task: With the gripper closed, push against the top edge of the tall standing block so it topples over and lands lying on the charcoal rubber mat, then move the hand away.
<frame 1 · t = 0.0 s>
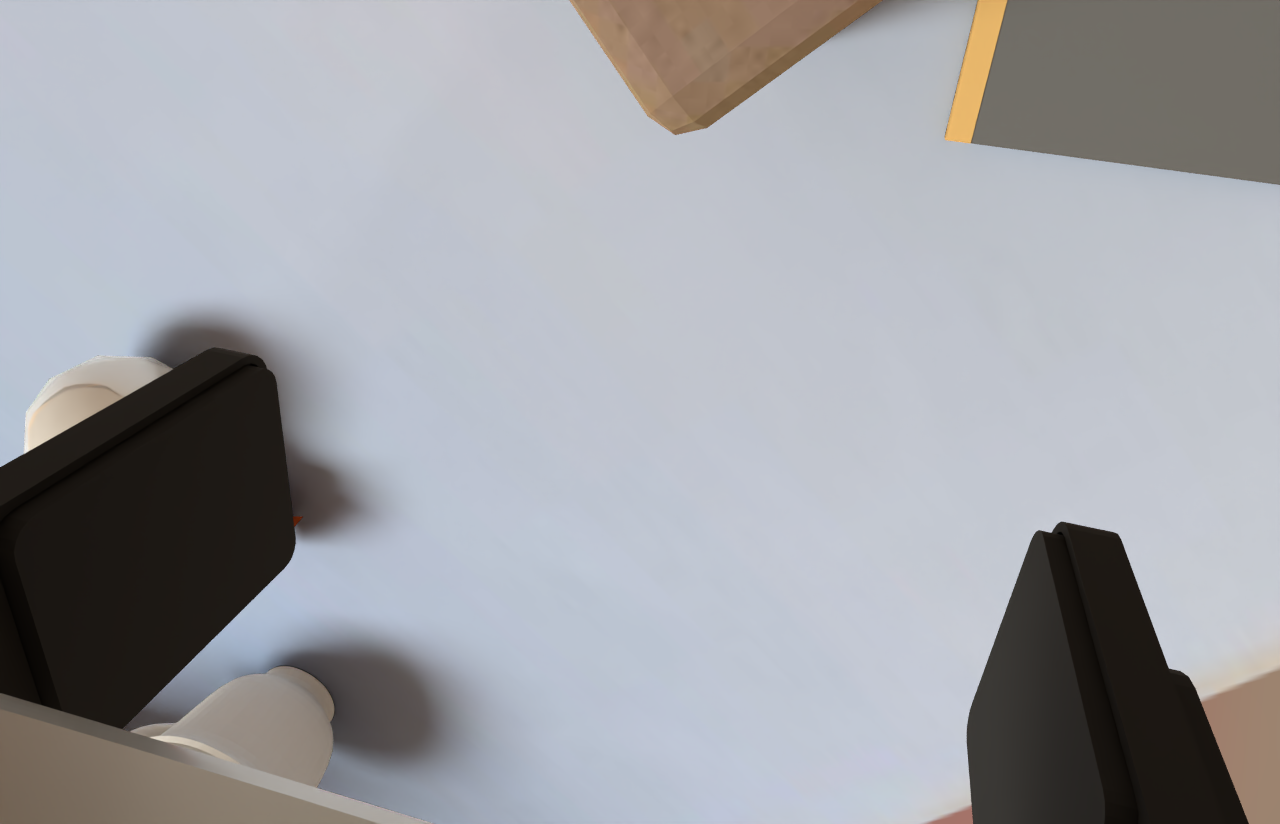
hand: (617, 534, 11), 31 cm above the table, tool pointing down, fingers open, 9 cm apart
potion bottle: (219, 433, 55), on the table
teacup: (283, 689, 65), on the table
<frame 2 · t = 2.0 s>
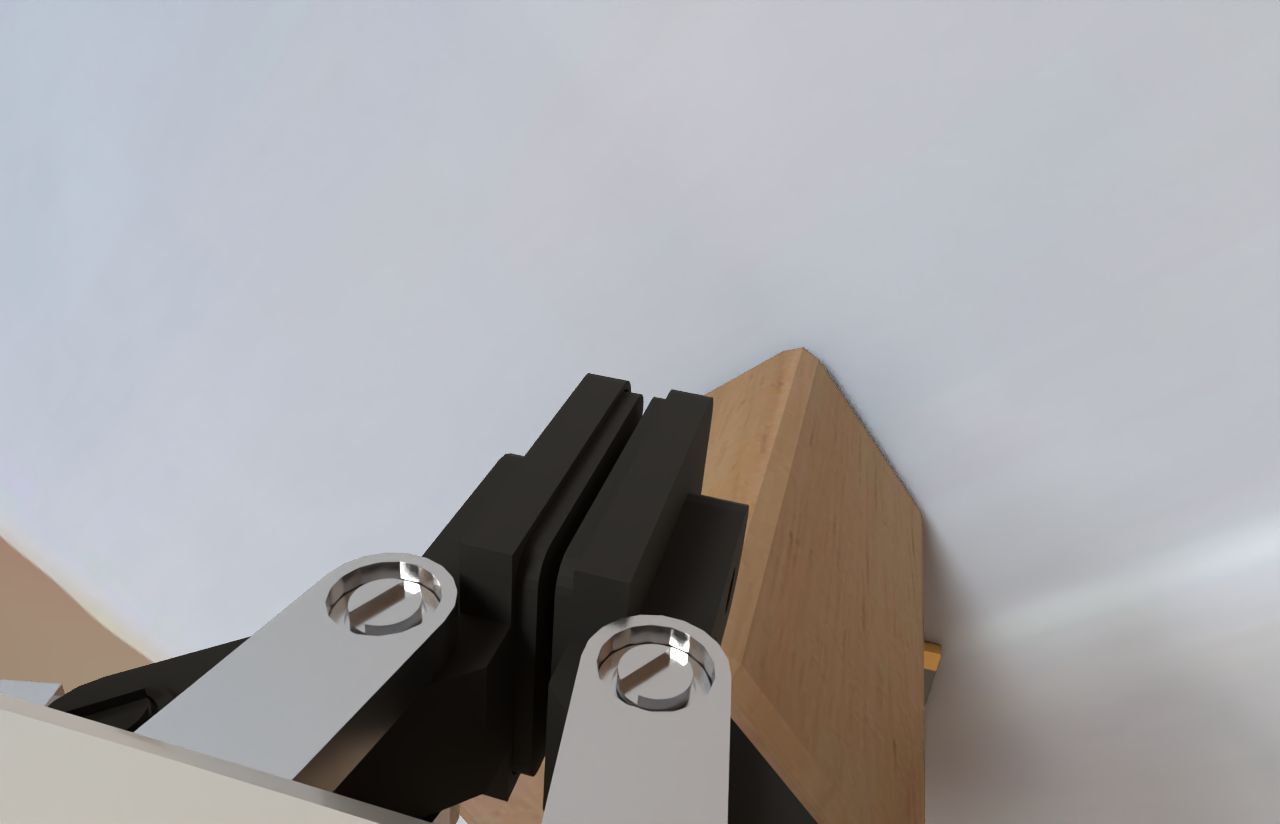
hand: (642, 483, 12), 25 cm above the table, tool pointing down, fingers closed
mat: (727, 717, 47), on the table
block: (772, 472, 40), on the table
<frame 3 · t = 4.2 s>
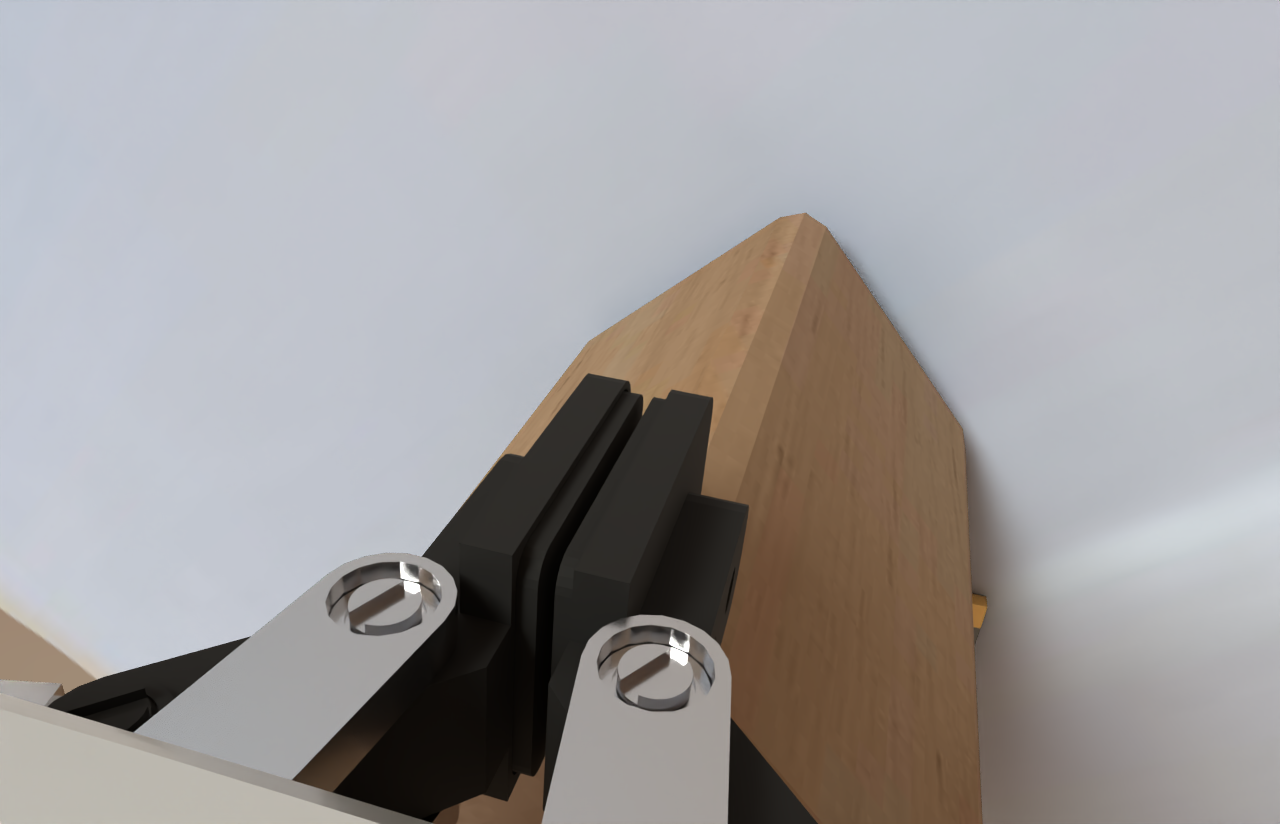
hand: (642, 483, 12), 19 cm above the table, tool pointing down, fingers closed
mat: (721, 694, 38), on the table
block: (770, 385, 31), on the table, touching gripper
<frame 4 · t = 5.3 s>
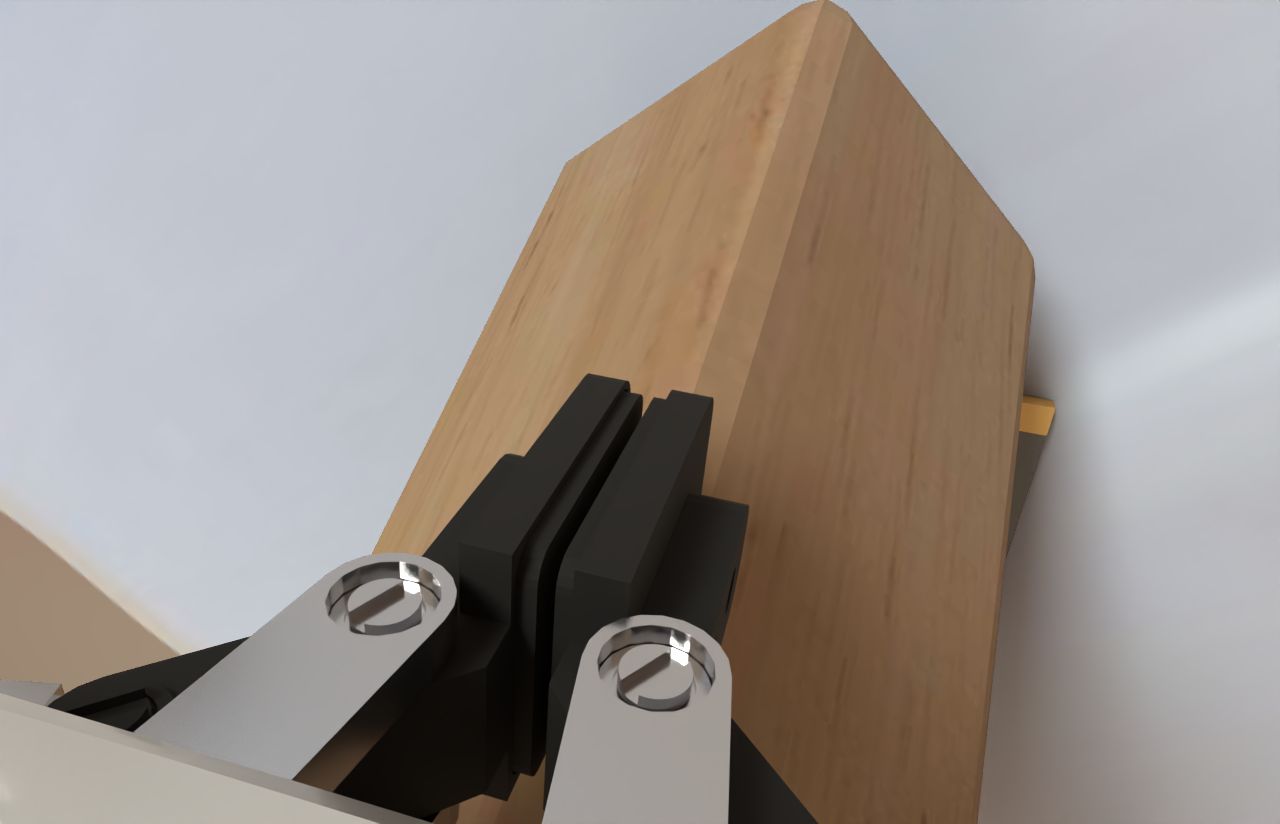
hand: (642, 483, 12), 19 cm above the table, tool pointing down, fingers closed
mat: (748, 539, 35), on the table
block: (795, 195, 25), point 3 cm above the table, touching gripper, mat
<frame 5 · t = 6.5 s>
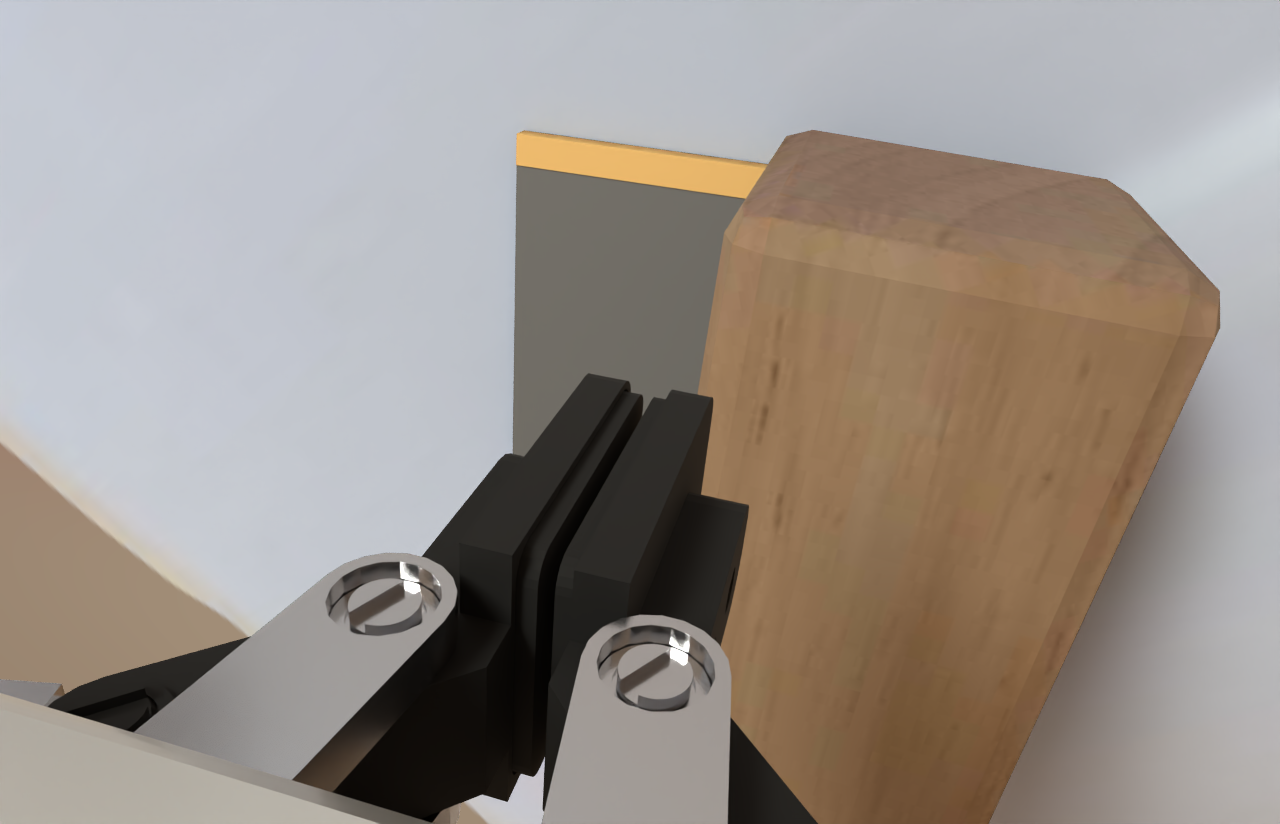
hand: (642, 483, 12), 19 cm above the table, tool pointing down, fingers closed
mat: (759, 396, 31), on the table
block: (966, 177, 21), point 6 cm above the table, touching mat
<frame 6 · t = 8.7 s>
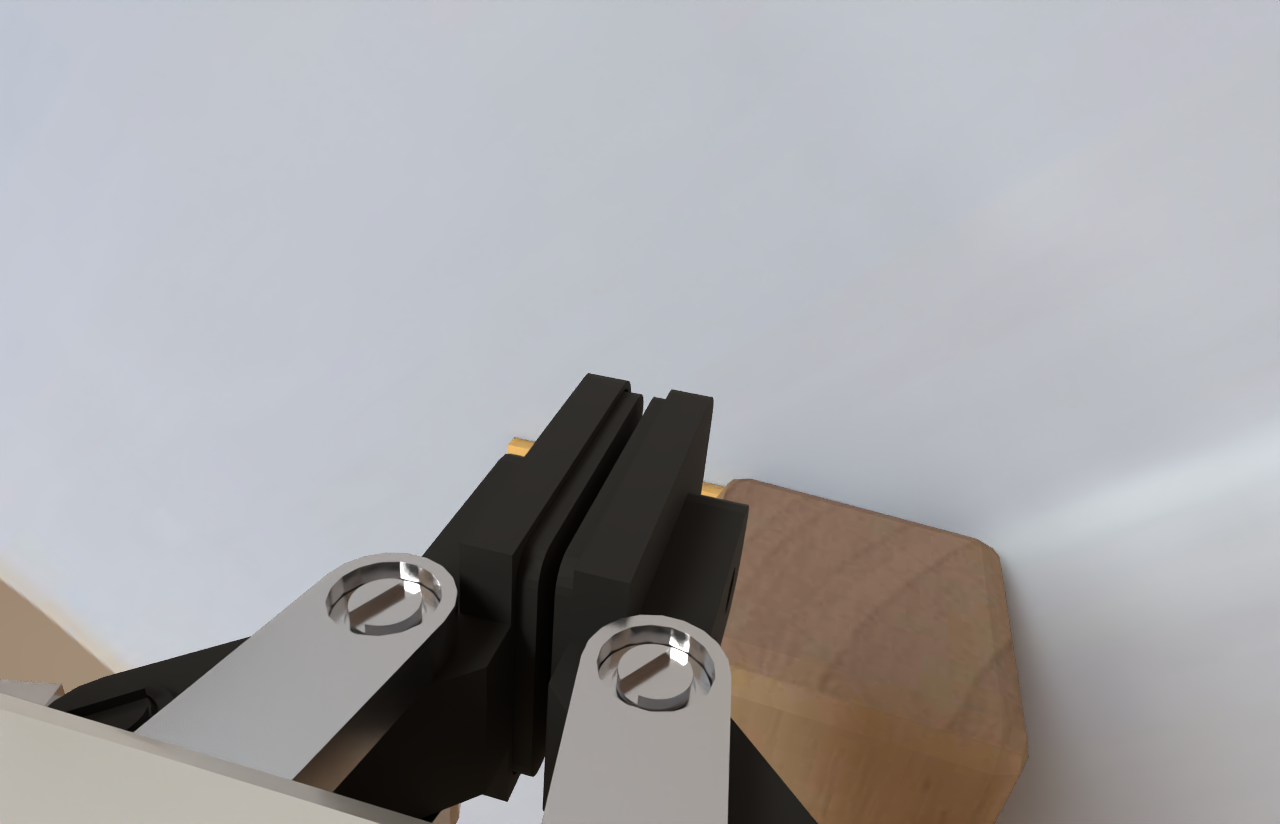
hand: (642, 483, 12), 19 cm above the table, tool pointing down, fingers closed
mat: (707, 648, 37), on the table
block: (858, 577, 27), point 6 cm above the table, touching mat
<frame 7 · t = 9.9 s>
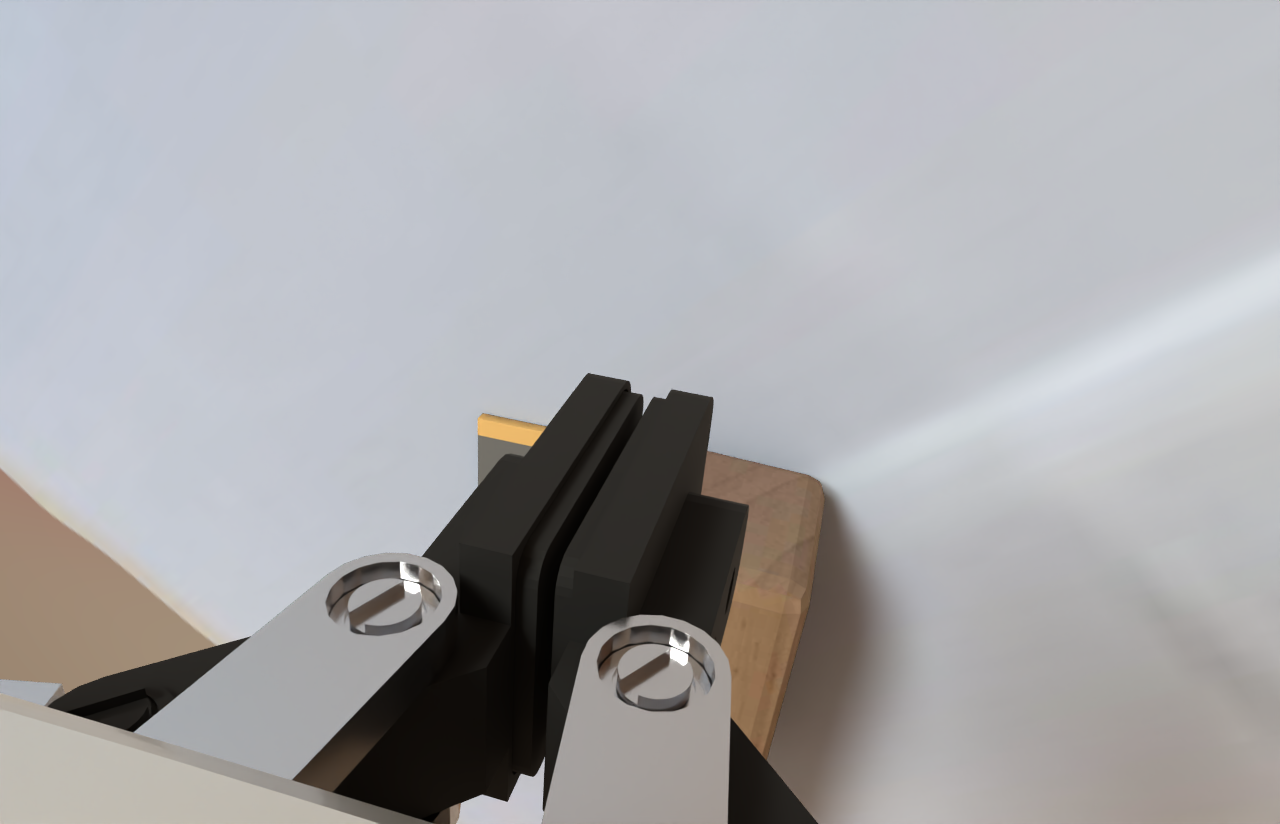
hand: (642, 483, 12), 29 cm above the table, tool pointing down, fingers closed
mat: (632, 569, 50), on the table
block: (712, 497, 40), point 6 cm above the table, touching mat
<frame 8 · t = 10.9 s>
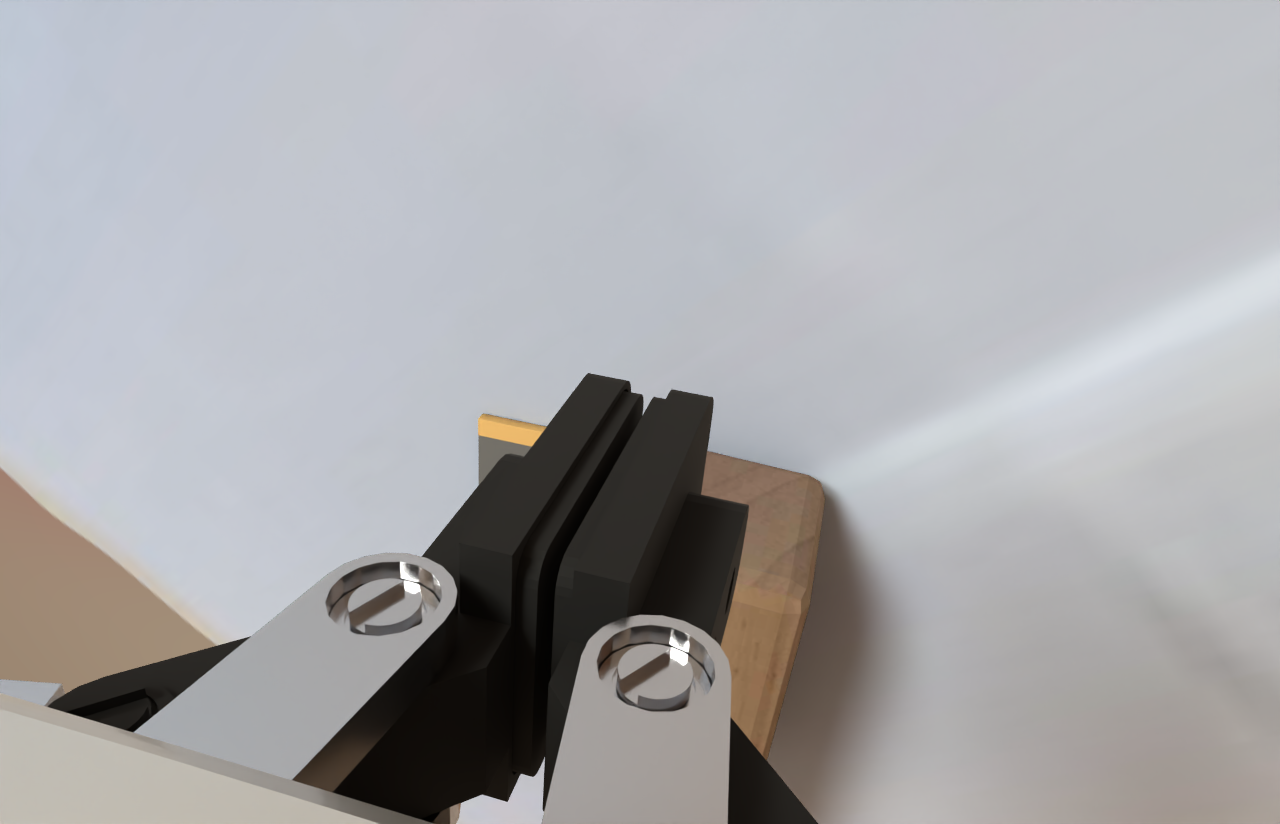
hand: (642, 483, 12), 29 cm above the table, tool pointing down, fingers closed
mat: (632, 569, 50), on the table
block: (712, 498, 40), point 6 cm above the table, touching mat
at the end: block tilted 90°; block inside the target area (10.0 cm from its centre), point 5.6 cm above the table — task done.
